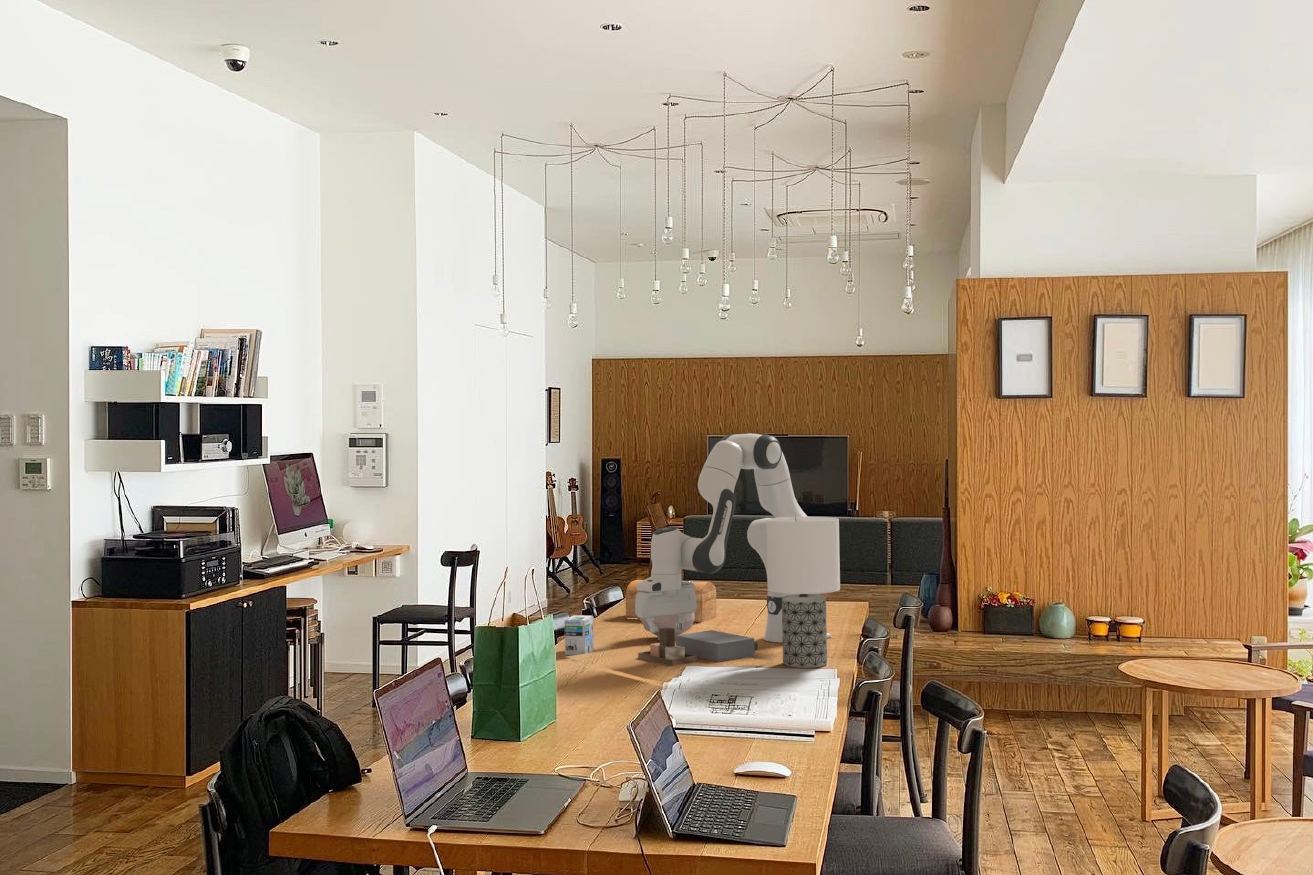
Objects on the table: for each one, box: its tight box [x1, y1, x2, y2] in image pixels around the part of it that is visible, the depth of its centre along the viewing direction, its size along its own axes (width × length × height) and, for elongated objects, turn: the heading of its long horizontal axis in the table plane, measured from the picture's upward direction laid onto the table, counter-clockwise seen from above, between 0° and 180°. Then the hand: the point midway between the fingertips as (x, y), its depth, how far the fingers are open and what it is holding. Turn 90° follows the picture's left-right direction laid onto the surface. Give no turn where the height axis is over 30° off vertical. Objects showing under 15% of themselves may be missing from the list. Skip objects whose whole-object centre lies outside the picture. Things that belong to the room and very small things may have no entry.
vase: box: [640, 613, 695, 641], centre depth 382 cm, size 18×18×30 cm
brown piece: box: [637, 627, 699, 667], centre depth 342 cm, size 10×16×10 cm, turn 37°
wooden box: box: [625, 579, 717, 623], centre depth 428 cm, size 30×16×14 cm, turn 66°
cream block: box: [665, 645, 685, 660], centre depth 339 cm, size 4×4×4 cm
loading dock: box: [675, 629, 759, 663], centre depth 350 cm, size 15×20×6 cm
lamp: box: [766, 516, 841, 669], centre depth 336 cm, size 21×21×42 cm
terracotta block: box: [649, 642, 660, 657], centre depth 345 cm, size 4×4×4 cm
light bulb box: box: [564, 614, 595, 656], centre depth 362 cm, size 11×7×11 cm, turn 168°
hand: (666, 630), depth 342 cm, fingers open, 8 cm apart
